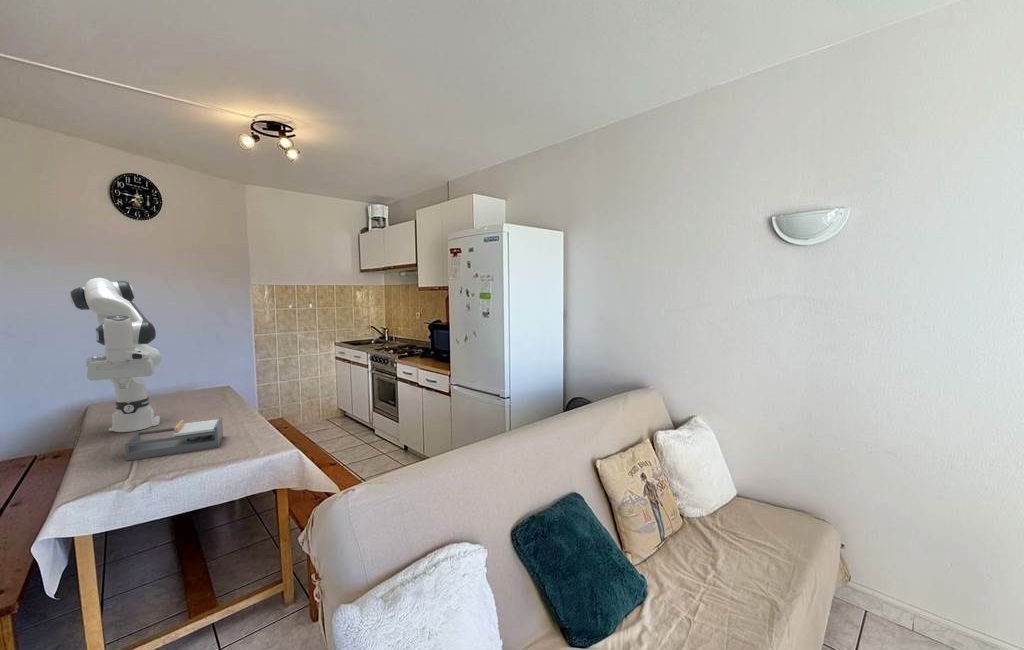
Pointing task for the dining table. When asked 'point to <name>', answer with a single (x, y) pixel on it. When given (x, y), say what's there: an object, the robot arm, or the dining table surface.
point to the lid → (194, 427)
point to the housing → (171, 443)
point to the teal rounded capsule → (194, 438)
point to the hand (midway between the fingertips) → (123, 388)
